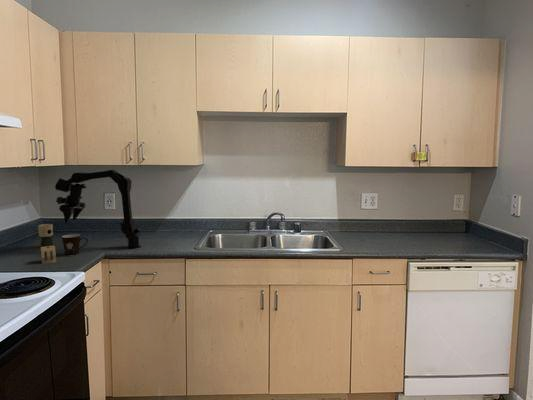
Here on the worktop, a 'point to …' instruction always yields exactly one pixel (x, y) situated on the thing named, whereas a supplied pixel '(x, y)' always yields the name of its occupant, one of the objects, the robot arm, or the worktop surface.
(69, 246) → the coffee mug
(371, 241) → the worktop surface
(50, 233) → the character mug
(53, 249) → the numbered maple block
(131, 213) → the robot arm
